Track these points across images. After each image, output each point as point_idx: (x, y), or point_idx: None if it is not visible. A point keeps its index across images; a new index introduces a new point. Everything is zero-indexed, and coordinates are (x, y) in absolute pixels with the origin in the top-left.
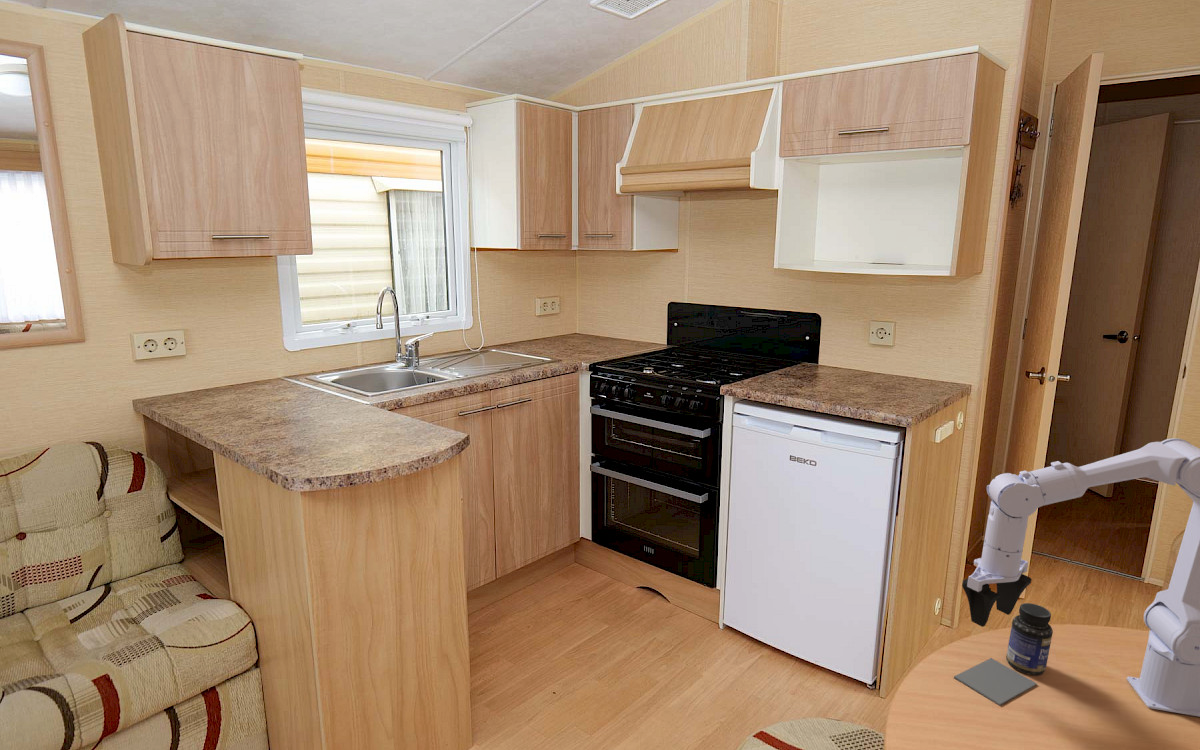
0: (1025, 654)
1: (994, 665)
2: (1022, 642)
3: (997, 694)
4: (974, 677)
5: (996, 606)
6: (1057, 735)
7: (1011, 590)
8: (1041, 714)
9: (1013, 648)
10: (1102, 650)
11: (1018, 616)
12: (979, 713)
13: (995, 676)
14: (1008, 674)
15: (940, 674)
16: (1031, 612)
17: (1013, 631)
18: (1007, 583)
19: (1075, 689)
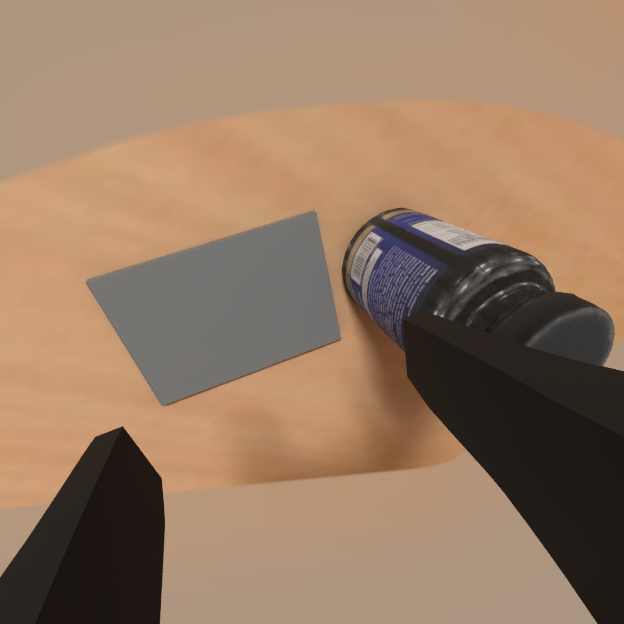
0: (375, 321)
1: (291, 252)
2: (391, 330)
3: (186, 373)
4: (168, 296)
5: (413, 323)
6: (231, 476)
7: (554, 519)
8: (253, 425)
9: (371, 283)
10: (611, 238)
11: (492, 289)
12: (71, 427)
13: (248, 301)
14: (298, 296)
15: (36, 252)
16: None
17: (410, 294)
18: (621, 550)
19: None
